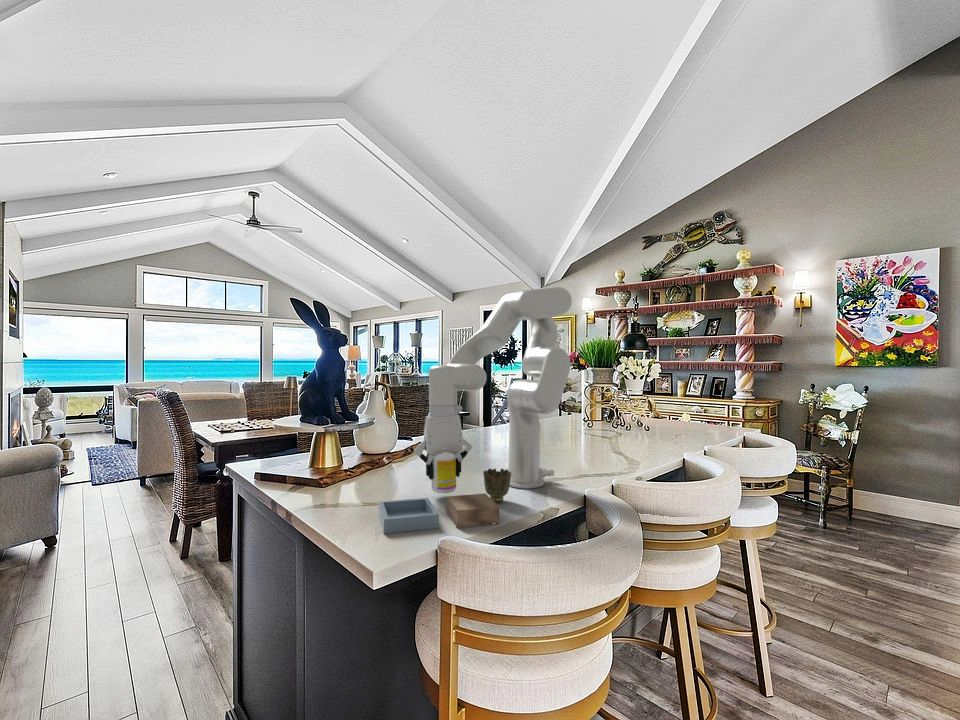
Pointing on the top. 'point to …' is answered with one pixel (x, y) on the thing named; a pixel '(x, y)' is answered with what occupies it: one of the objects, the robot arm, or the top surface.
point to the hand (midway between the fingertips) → (443, 476)
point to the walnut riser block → (472, 510)
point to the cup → (497, 483)
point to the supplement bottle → (444, 472)
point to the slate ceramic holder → (407, 515)
